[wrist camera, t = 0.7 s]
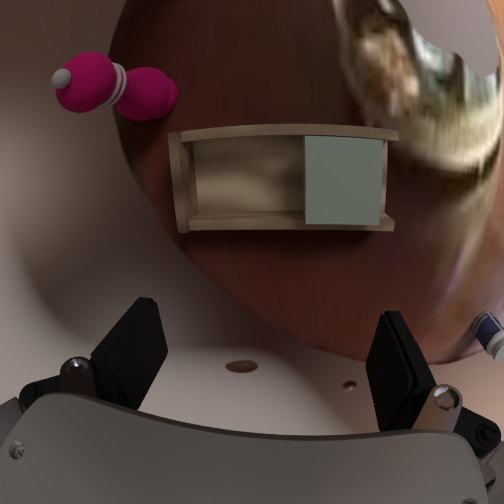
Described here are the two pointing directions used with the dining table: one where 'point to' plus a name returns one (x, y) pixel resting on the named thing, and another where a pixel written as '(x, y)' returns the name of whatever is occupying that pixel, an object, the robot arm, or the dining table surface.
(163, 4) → the dining table surface
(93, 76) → the pepper mill
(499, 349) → the pill bottle
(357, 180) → the grey-green block
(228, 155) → the bay
